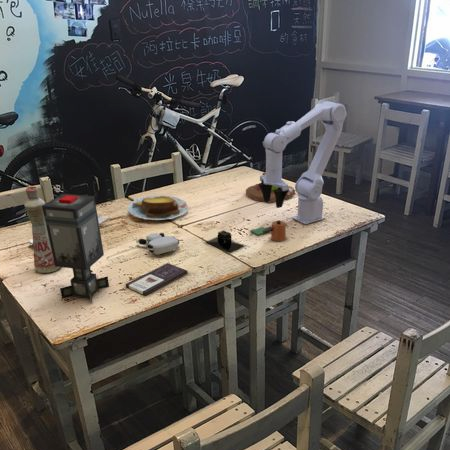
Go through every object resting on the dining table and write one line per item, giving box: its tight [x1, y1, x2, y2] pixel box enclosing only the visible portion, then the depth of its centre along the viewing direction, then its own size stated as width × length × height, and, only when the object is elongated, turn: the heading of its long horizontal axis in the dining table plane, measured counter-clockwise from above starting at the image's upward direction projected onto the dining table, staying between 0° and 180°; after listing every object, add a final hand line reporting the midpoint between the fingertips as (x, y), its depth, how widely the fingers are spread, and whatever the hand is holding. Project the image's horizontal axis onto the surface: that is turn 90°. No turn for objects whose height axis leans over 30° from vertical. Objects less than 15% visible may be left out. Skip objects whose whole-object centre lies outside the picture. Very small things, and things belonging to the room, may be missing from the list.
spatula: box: [249, 225, 271, 237], centre depth 193 cm, size 14×5×1 cm, turn 121°
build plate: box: [205, 230, 245, 253], centre depth 181 cm, size 12×7×5 cm, turn 45°
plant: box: [245, 171, 296, 204], centre depth 224 cm, size 20×20×11 cm
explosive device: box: [42, 193, 110, 304], centre depth 147 cm, size 10×10×30 cm
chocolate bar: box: [125, 262, 188, 296], centre depth 160 cm, size 9×1×18 cm
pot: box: [263, 220, 287, 242], centre depth 183 cm, size 10×5×7 cm, turn 121°
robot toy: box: [135, 232, 184, 255], centre depth 180 cm, size 12×4×15 cm
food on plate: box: [127, 194, 189, 221], centre depth 210 cm, size 25×25×7 cm
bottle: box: [23, 185, 62, 274], centre depth 162 cm, size 9×9×28 cm
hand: (273, 204), depth 190 cm, fingers open, 7 cm apart
